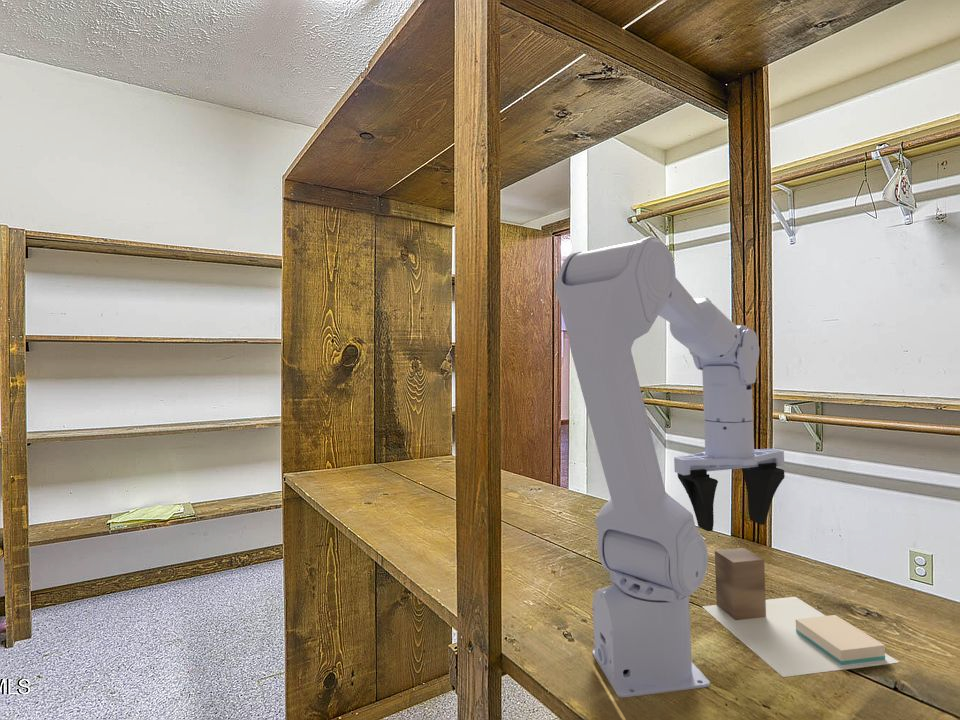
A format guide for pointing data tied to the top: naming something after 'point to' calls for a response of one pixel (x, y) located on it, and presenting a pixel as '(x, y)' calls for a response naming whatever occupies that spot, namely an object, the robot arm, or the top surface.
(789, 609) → the mat
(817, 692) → the top surface
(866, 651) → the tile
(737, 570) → the walnut block
